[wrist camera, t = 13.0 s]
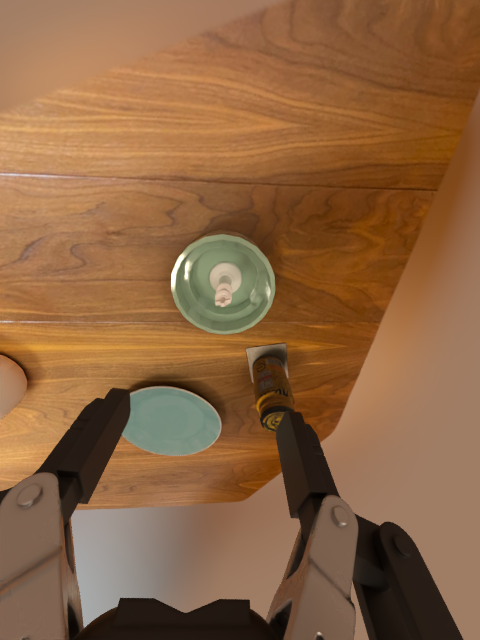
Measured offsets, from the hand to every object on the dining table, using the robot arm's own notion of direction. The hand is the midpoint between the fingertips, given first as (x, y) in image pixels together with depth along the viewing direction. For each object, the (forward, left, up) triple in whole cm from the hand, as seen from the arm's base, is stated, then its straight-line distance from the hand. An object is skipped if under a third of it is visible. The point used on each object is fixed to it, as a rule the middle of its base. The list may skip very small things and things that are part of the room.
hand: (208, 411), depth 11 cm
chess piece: (0, 0, -24) cm, 24 cm away
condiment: (+15, +11, -24) cm, 31 cm away
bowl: (0, 0, -24) cm, 24 cm away
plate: (+33, -6, -24) cm, 41 cm away
